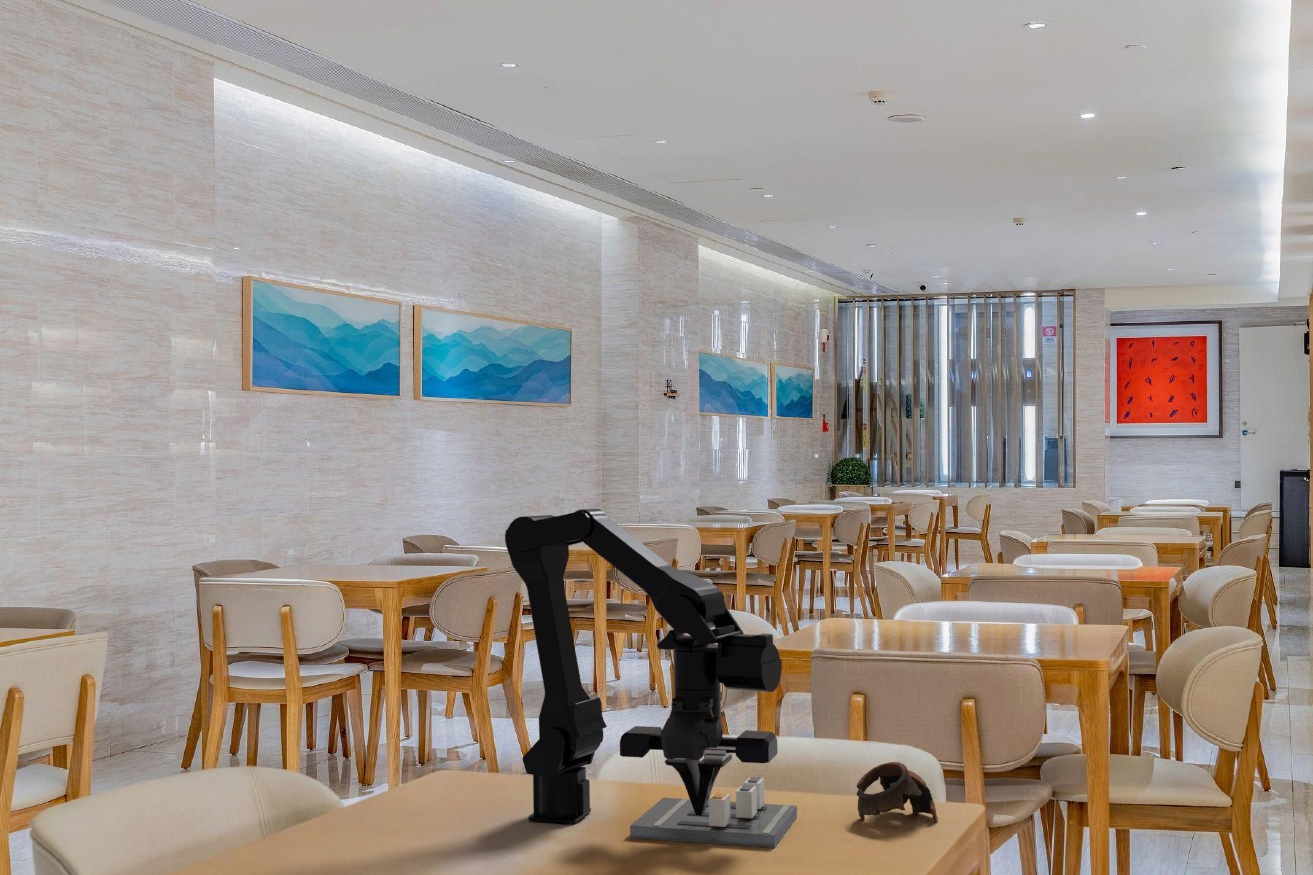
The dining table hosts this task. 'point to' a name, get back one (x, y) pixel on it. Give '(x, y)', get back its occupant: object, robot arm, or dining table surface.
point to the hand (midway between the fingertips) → (699, 814)
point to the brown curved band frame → (894, 791)
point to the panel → (682, 824)
